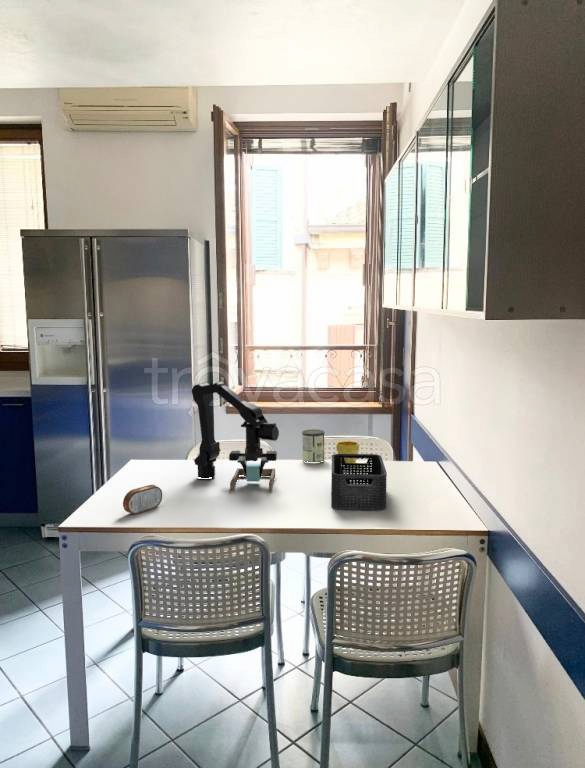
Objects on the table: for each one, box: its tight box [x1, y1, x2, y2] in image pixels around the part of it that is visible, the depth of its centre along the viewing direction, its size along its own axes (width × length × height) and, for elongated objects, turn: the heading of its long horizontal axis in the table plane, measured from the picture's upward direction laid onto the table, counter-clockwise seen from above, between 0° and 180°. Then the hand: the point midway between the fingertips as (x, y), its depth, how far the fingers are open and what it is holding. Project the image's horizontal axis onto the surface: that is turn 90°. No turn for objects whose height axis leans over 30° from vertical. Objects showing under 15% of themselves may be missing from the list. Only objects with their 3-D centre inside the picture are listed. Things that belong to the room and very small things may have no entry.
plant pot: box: [335, 440, 360, 463], centre depth 258 cm, size 10×10×10 cm
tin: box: [122, 484, 163, 515], centre depth 197 cm, size 15×3×8 cm, turn 141°
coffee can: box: [301, 428, 325, 462], centre depth 263 cm, size 10×10×14 cm
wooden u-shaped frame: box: [229, 467, 276, 493], centre depth 229 cm, size 16×21×4 cm
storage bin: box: [330, 453, 388, 512], centre depth 210 cm, size 29×19×13 cm
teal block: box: [246, 462, 261, 483], centre depth 228 cm, size 5×5×6 cm
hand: (253, 476), depth 228 cm, fingers closed on teal block, 5 cm apart
